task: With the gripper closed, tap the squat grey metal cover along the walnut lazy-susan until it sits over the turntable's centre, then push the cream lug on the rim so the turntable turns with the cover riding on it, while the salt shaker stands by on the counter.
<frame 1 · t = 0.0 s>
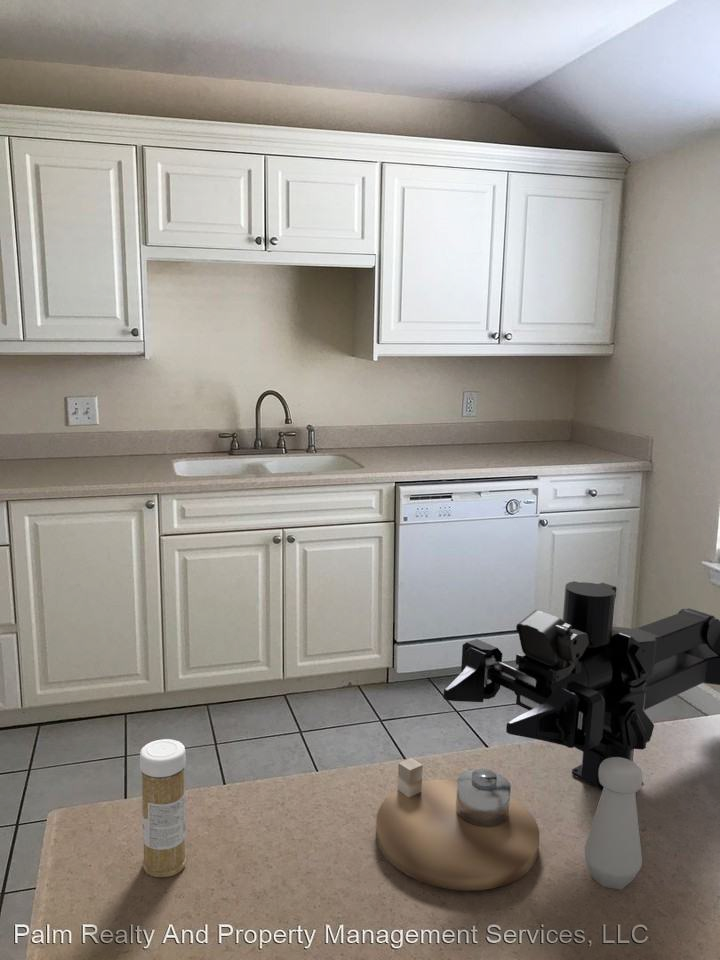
hand: (474, 711, 88), 17 cm above the counter, tool horizontal, fingers open, 9 cm apart
spice bottle: (165, 867, 87), on the counter
cover: (482, 811, 95), point 2 cm above the counter, touching turntable
turntable: (457, 815, 92), point 3 cm above the counter, hinge at 0.0°, touching cover
salt shaker: (610, 878, 88), on the counter
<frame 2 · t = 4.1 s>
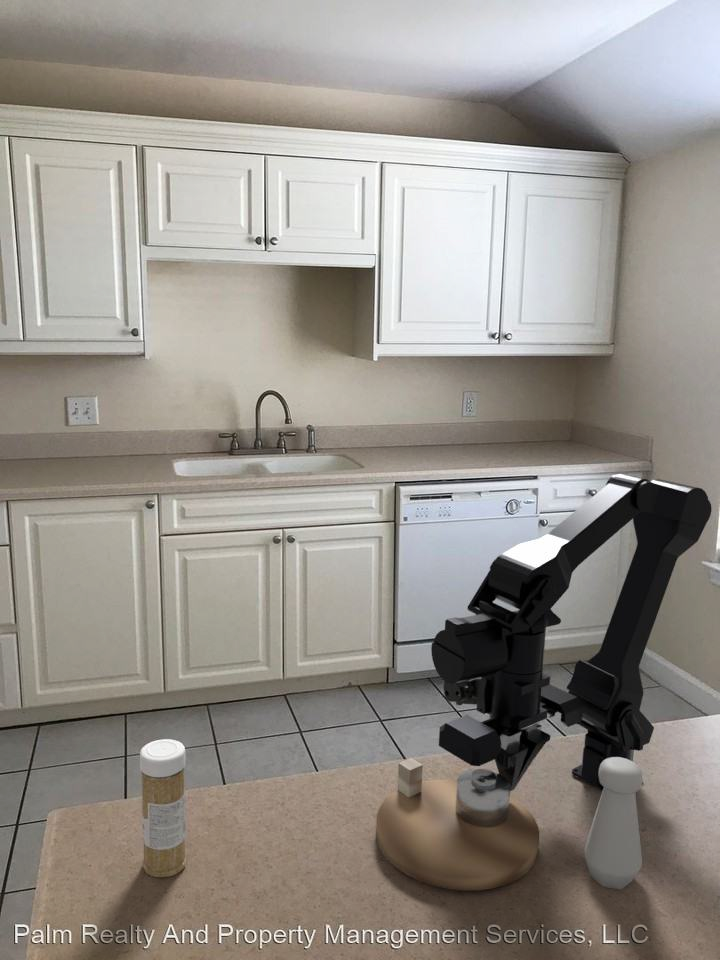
hand: (508, 789, 97), 3 cm above the counter, tool pointing down, fingers closed
cover: (481, 811, 95), point 2 cm above the counter, touching gripper, turntable
everything else where it was.
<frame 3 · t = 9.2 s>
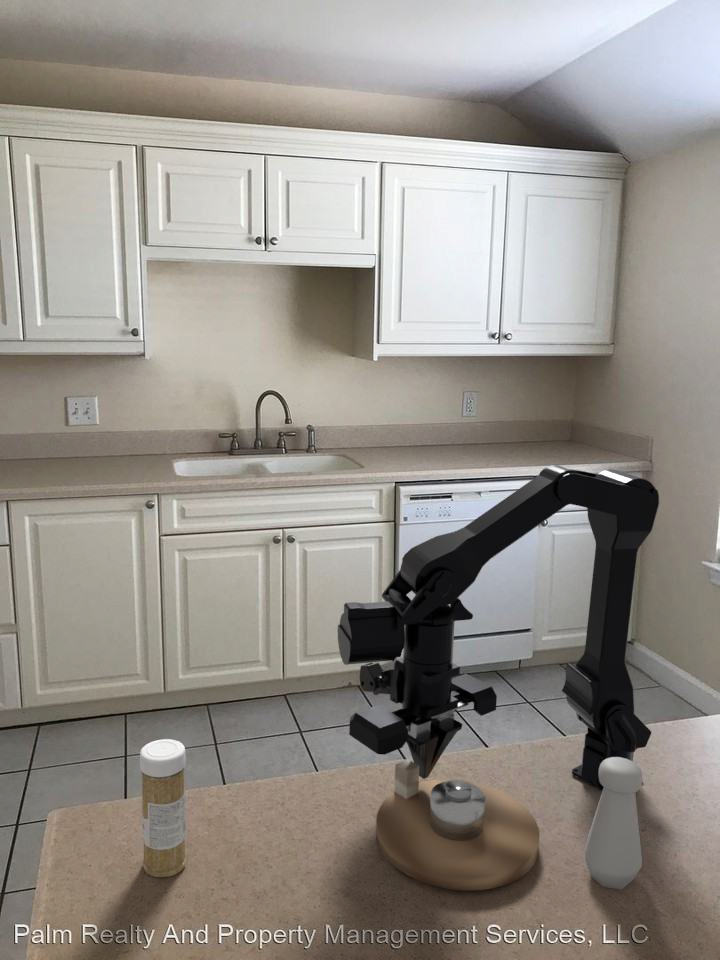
hand: (422, 776, 99), 3 cm above the counter, tool pointing down, fingers closed
cover: (456, 824, 92), point 2 cm above the counter, touching turntable
turntable: (457, 815, 92), point 3 cm above the counter, hinge at 3.8°, touching cover, gripper
everything else where it was.
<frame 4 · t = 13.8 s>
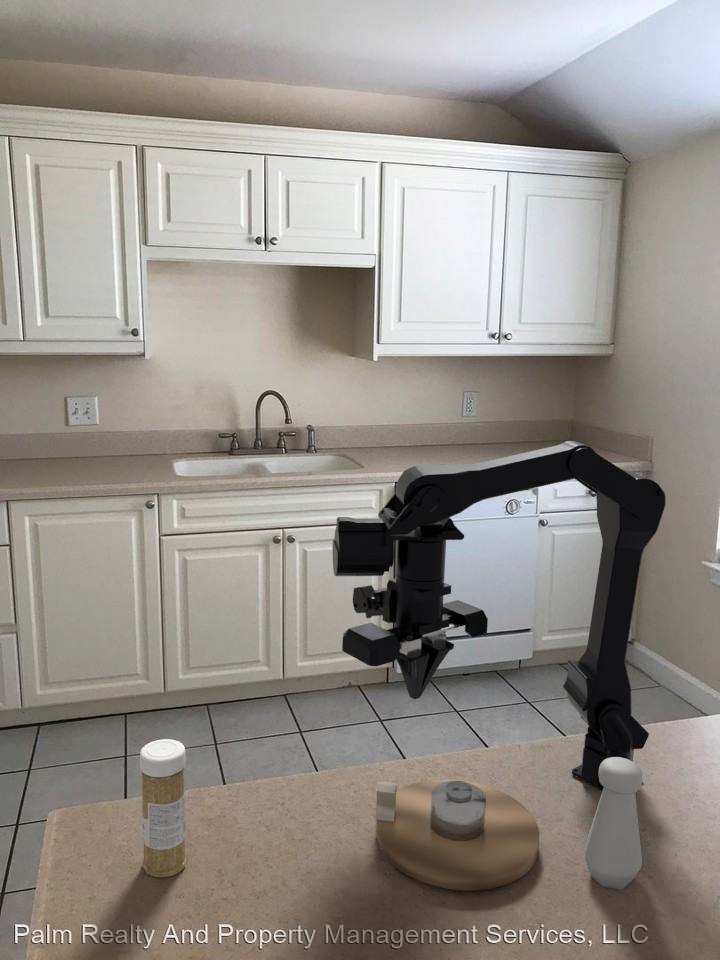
hand: (414, 697, 101), 12 cm above the counter, tool pointing down, fingers closed
turntable: (457, 815, 92), point 3 cm above the counter, hinge at 43.1°, touching cover
everything else where it was.
at the end: cover 0.1 cm from the turntable (horizontally); turntable at +43° (first picture: +0°); cover tilted 0° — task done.
